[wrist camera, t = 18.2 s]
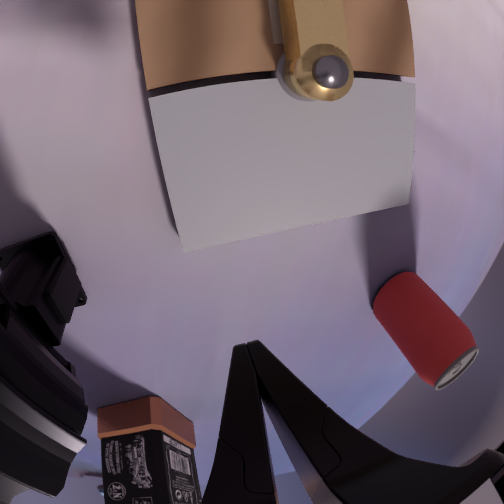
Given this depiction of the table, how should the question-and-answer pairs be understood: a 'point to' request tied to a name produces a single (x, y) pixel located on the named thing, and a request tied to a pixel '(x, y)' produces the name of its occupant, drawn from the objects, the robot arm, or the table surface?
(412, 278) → the beer can
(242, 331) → the table surface
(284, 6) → the swing bar
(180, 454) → the whiskey bottle
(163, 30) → the door board
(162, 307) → the table surface
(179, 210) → the board
